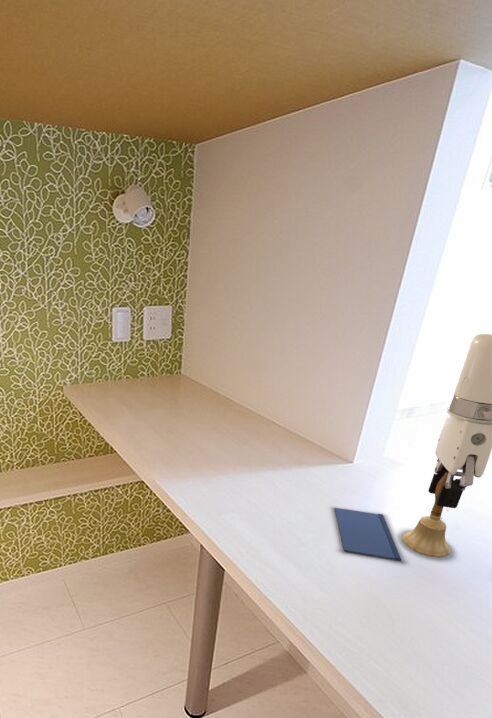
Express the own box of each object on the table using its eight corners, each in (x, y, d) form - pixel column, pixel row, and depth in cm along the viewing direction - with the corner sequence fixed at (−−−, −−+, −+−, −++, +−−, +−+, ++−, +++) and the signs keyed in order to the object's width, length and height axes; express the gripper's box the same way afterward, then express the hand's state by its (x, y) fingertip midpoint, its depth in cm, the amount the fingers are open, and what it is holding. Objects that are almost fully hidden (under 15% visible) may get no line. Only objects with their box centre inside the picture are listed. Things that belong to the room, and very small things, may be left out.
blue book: (382, 516, 96) (383, 514, 96) (400, 560, 82) (401, 558, 82) (334, 508, 98) (335, 507, 98) (344, 551, 84) (344, 549, 84)
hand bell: (399, 547, 86) (423, 476, 79) (404, 527, 92) (427, 460, 85) (449, 563, 81) (478, 489, 75) (451, 541, 88) (478, 471, 81)
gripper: (525, 427, 66) (482, 527, 74) (480, 396, 81) (448, 482, 89) (469, 422, 68) (433, 520, 76) (435, 392, 82) (408, 477, 90)
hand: (441, 498), depth 82 cm, fingers open, 4 cm apart
